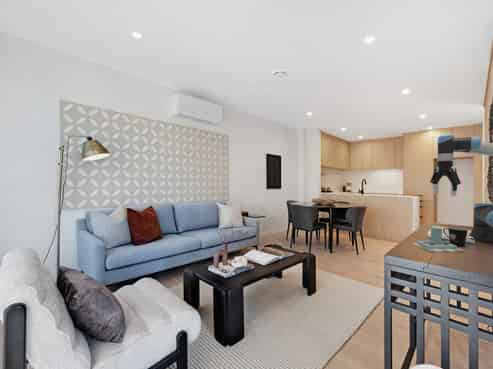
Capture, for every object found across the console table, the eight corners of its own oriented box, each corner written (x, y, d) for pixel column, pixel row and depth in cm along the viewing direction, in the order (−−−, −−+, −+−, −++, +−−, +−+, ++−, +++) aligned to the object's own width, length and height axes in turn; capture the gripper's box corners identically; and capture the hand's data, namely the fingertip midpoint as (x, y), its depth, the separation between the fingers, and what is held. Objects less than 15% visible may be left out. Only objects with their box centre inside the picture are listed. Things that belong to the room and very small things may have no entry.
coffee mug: (471, 247, 135) (471, 230, 135) (453, 247, 137) (454, 229, 137) (457, 241, 147) (457, 225, 146) (441, 241, 149) (441, 225, 148)
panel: (442, 243, 141) (442, 225, 141) (456, 248, 131) (457, 229, 131) (416, 243, 141) (417, 226, 141) (429, 249, 131) (429, 230, 131)
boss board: (443, 244, 142) (443, 237, 142) (464, 252, 128) (464, 244, 128) (412, 244, 143) (413, 237, 142) (430, 252, 129) (430, 245, 128)
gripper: (424, 161, 159) (423, 193, 160) (456, 159, 134) (455, 197, 135) (435, 161, 159) (434, 193, 160) (469, 159, 134) (468, 197, 135)
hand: (444, 195), depth 148 cm, fingers open, 13 cm apart
